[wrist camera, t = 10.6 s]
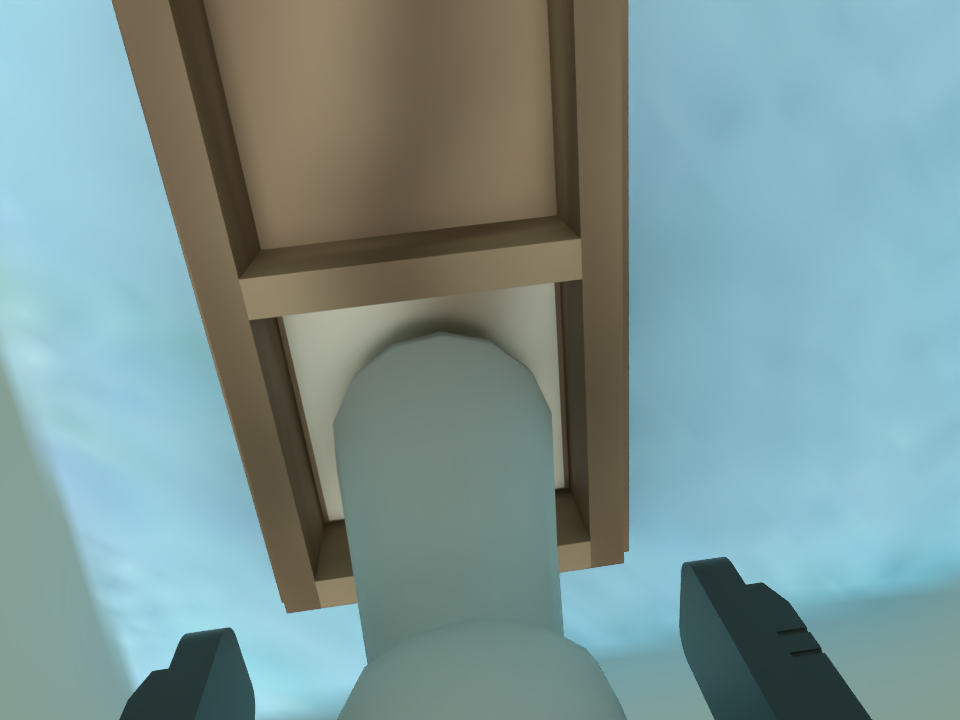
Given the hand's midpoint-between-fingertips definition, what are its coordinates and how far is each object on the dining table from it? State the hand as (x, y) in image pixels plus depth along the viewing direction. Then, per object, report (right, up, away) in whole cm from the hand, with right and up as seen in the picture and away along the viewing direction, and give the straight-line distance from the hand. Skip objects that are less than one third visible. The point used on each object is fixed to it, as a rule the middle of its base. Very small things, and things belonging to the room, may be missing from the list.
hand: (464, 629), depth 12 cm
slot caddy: (-2, +8, +7) cm, 11 cm away
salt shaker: (-1, +4, +8) cm, 9 cm away
